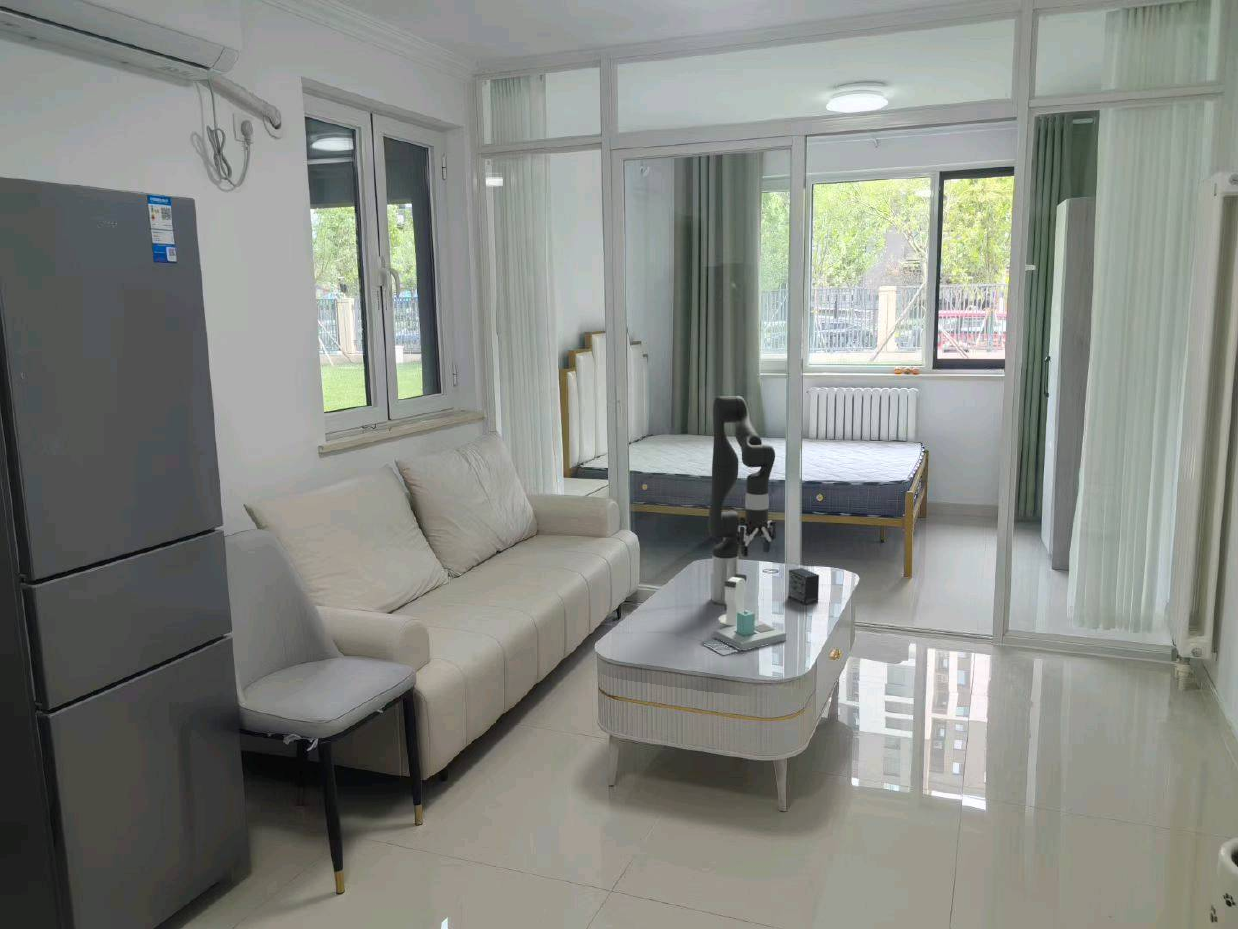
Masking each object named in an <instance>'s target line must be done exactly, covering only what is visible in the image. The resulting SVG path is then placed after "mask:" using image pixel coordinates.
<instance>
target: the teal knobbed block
mask: <svg viewBox="0 0 1238 929" xmlns="http://www.w3.org/2000/svg"><path fill="white" fill-rule="evenodd" d="M755 615H756V614H755V613H754V612H753V611H750V610H747V609H745V610H743V611H740V612H737V634H739V635H741V636H743V637H746V636H750V635H754V625H755V621H756V620H755V618H756V616H755Z"/></svg>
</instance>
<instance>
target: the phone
mask: <svg viewBox="0 0 1238 929" xmlns="http://www.w3.org/2000/svg"><path fill="white" fill-rule="evenodd" d="M701 643H702V644H706V645H707V644H713V645H711V646H710V645H708V646H710V647H712V648H716V647H718V646H724V645H726V643H724V642H722V641H720V640H719V639H717V638H715V639H710V640H707V641H706V640H705V641H702V642H700V644H701ZM702 644H701V645H702ZM714 644H717V645H715V646H714ZM718 644H719V645H718ZM722 644H723V645H722ZM726 647H727V646H725V647H724V648H723V647H721V648H719V647H718V648H719V649H718V648H717V649H716V650H730V649H729V648H730V645H729V646H728V647H727V648H726ZM722 648H723V649H722ZM735 649H736V648H734V650H735ZM732 650H733V649H732Z"/></svg>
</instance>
